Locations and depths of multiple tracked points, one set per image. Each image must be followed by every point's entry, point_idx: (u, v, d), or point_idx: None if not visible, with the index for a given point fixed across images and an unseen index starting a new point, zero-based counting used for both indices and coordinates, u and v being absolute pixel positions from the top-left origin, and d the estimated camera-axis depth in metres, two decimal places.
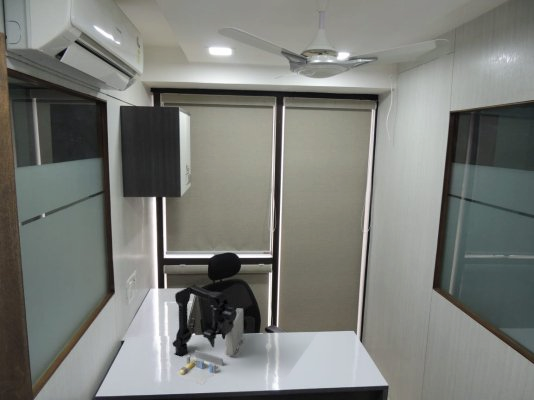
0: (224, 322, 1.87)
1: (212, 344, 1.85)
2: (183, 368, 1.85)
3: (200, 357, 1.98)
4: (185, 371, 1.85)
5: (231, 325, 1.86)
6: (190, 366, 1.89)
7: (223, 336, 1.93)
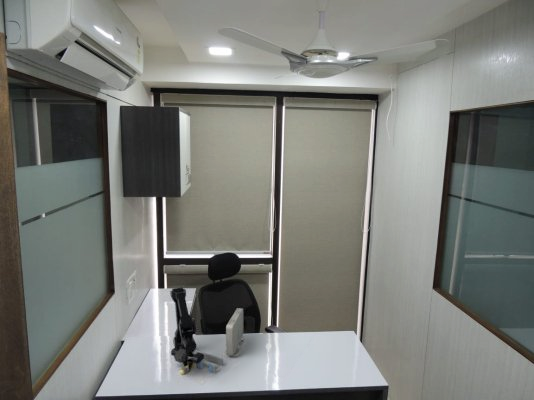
0: (183, 350, 1.83)
1: None
2: (183, 368, 1.85)
3: None
4: (185, 371, 1.85)
5: (180, 357, 1.79)
6: None
7: None
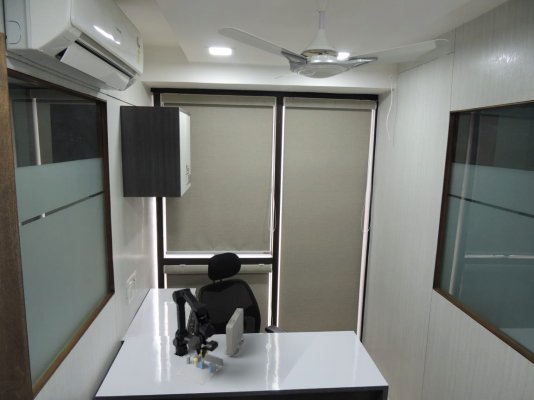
0: (196, 338, 1.78)
1: None
2: (196, 356, 1.80)
3: None
4: (199, 359, 1.79)
5: (194, 344, 1.74)
6: None
7: None
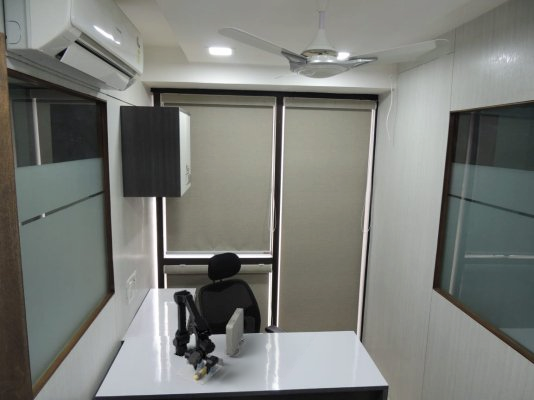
0: (197, 353, 1.79)
1: None
2: (197, 373, 1.81)
3: None
4: (199, 376, 1.80)
5: (195, 360, 1.75)
6: (204, 371, 1.84)
7: None
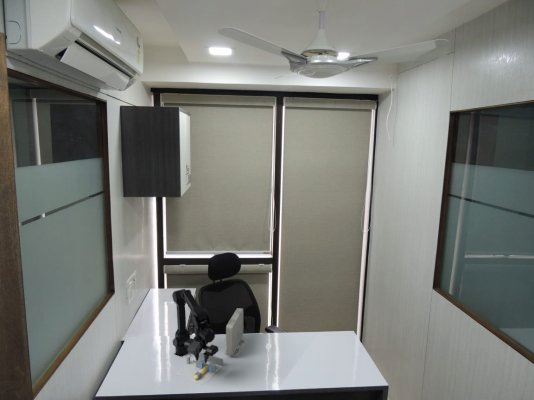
0: (197, 342, 1.78)
1: None
2: (197, 373, 1.81)
3: (200, 357, 1.98)
4: (199, 376, 1.80)
5: (194, 349, 1.74)
6: (204, 371, 1.84)
7: None
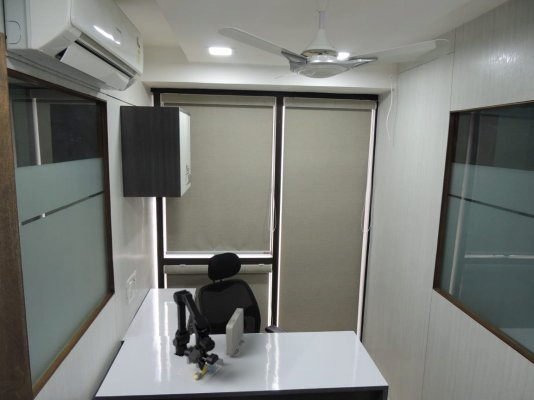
0: (197, 351, 1.78)
1: None
2: (197, 373, 1.81)
3: None
4: (199, 376, 1.80)
5: (195, 358, 1.75)
6: (204, 371, 1.84)
7: None
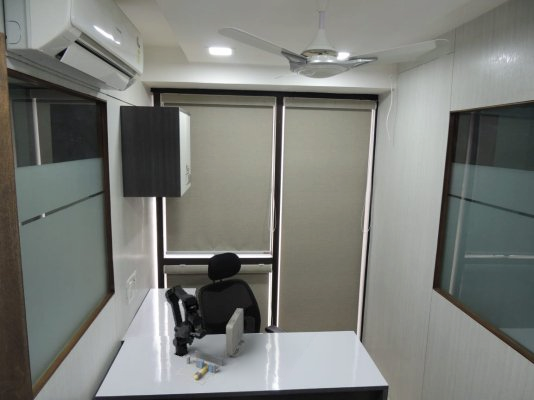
0: (186, 326, 1.87)
1: None
2: (197, 373, 1.81)
3: (200, 357, 1.98)
4: (199, 376, 1.80)
5: (183, 332, 1.83)
6: (204, 371, 1.84)
7: None
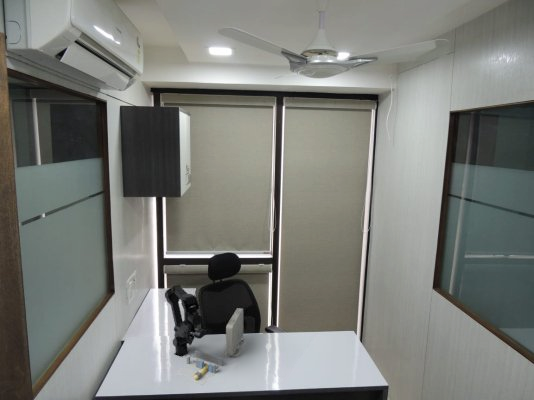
0: (185, 326, 1.87)
1: None
2: (197, 373, 1.81)
3: (200, 357, 1.98)
4: (199, 376, 1.80)
5: (183, 332, 1.83)
6: (204, 371, 1.84)
7: None
